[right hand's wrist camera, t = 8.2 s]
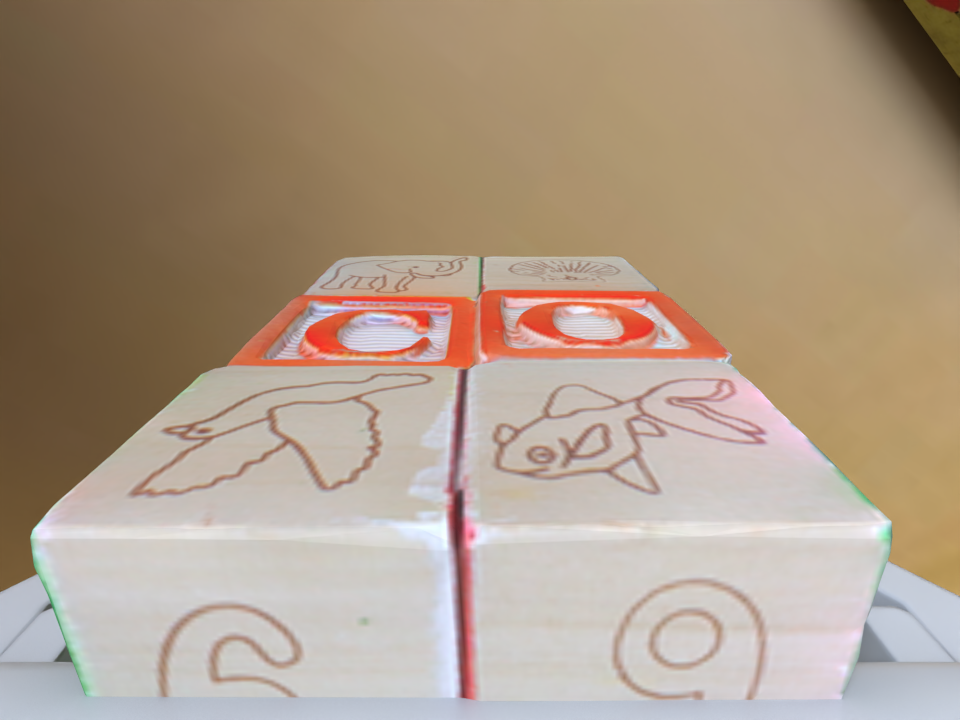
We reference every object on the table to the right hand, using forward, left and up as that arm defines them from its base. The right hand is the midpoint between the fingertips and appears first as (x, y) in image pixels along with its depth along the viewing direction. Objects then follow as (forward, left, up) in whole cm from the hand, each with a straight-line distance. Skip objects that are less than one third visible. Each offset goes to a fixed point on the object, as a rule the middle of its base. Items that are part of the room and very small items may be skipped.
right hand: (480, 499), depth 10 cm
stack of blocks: (+7, 0, -4) cm, 8 cm away
